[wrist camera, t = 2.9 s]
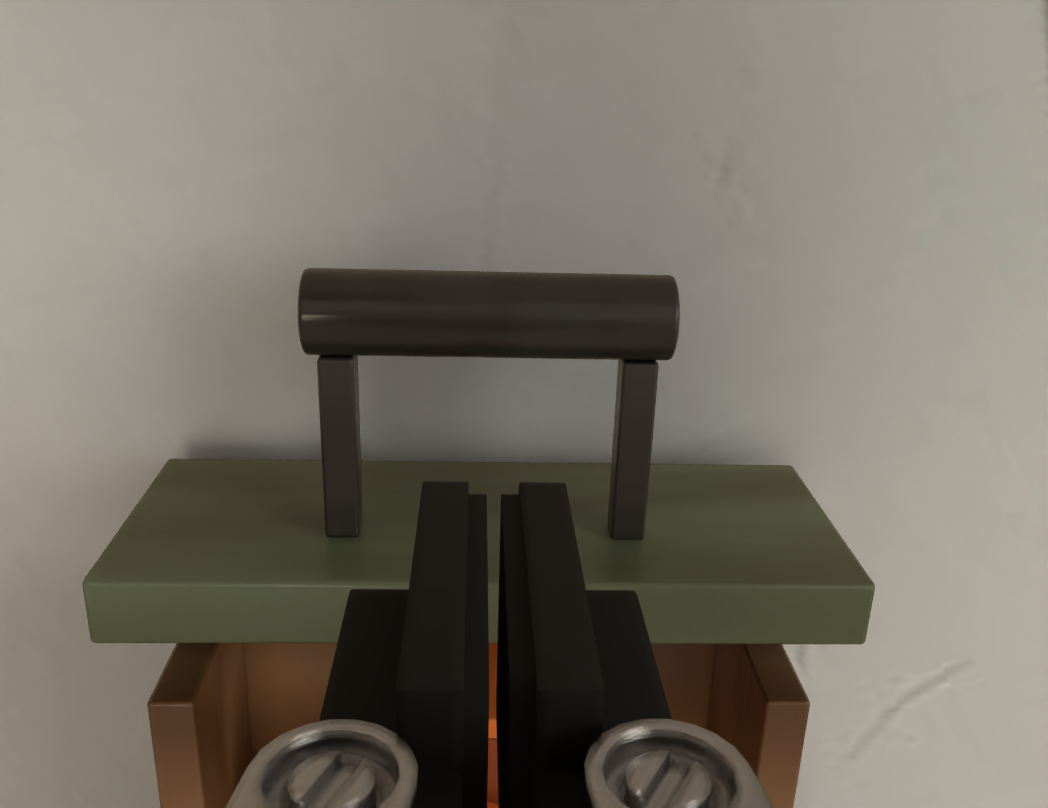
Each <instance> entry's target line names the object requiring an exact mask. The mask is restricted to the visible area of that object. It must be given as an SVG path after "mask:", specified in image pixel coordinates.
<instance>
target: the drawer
mask: <svg viewBox="0 0 1048 808" xmlns="http://www.w3.org/2000/svg"><path fill="white" fill-rule="evenodd" d="M679 320H680V304H679V293H678V287H677V284H676V281H675V279H674V277H672V276H670V275H633V274H584V273H534V272H484V271H435V270H385V269H335V268H307V269H305V270H304V271H303V274H302V277H301V280H300V286H299V295H298V327H299V336H300V342H301V346H302V348H303V351H304V353H306V354H308V355H320V356H319V358H318V361H317V367H318V388H319V409H320V431H321V452H322V460H236V459H170V460H168V461H167V463H166V464H165V466H164V467H163V468H162V470H161V471H160V473H159V474H158V475H157V477H156V478H155V480H154V481H153V483H152V484H151V485H150V487H149V488H148V490H147V491H146V492H145V494H144V495H143V497H142V498H141V499H140V501H139V502H138V504H137V505H136V507H135V508H134V509H133V511H132V512H131V514H130V515H129V516H128V518H127V519H126V521H125V522H124V523H123V525H122V526H121V528H120V529H119V531H118V532H117V533H116V535H115V536H114V538H113V539H112V540H111V542H110V543H109V545H108V546H107V548H106V549H105V550H104V552H103V553H102V555H101V556H100V557H99V559H98V560H97V562H96V563H95V564H94V566H93V567H92V569H91V570H90V572H89V573H88V574H87V576H86V577H85V579H84V580H83V583H82V584H83V591H84V598H85V605H86V611H87V618H88V625H89V631H90V638H91V641H92V642H95V643H177V644H176V646H175V648H174V650H173V652H172V654H171V656H170V658H169V660H168V662H167V664H166V666H165V668H164V670H163V672H162V674H161V676H160V679H159V681H158V683H157V685H156V687H155V689H154V691H153V693H152V695H151V697H150V699H149V701H148V704H147V705H148V713H149V720H150V728H151V736H152V744H153V751H154V759H155V767H156V775H157V782H158V790H159V798H160V806H161V808H226V806H227V804H228V802H229V800H230V798H231V796H232V795H233V793H234V791H235V789H236V787H237V785H238V783H239V782H240V780H241V778H242V776H243V774H244V772H245V770H246V769H247V767H248V765H249V764H250V763H251V761H252V760H253V759H254V758H255V756H256V755H257V754H258V752H259V751H260V750H261V749H262V748H263V747H264V746H266V745H267V744H269V743H270V742H271V741H273V740H274V739H275V738H277V737H278V736H280V735H281V734H283V733H286V732H288V731H290V730H293V729H295V728H298V727H300V726H302V725H305V724H310V723H315V722H319V719H320V715H321V711H322V707H323V702H324V698H325V694H326V689H327V685H328V681H329V677H330V672H331V668H332V664H333V660H334V655H335V651H336V647H337V642H338V638H339V634H340V630H341V625H342V621H343V617H344V613H345V608H346V604H347V600H348V596H349V593H350V590H352V589H409V584H410V576H411V568H412V560H413V553H414V545H415V537H416V529H417V521H418V514H419V506H420V498H421V490H422V483H423V481H447V482H469V494H487V553H488V626H489V644H497V640H498V599H499V557H500V516H501V494H518V492H519V483H520V482H549V483H565V484H566V488H567V493H568V498H569V504H570V509H571V514H572V519H573V525H574V530H575V535H576V541H577V546H578V551H579V557H580V562H581V567H582V572H583V578H584V583H585V588H586V590H633V591H635V592H636V594H637V597H638V599H639V603H640V606H641V610H642V614H643V617H644V621H645V624H646V628H647V631H648V635H649V639H650V642H651V646H652V649H653V653H654V657H655V660H656V664H657V667H658V671H659V675H660V678H661V682H662V685H663V689H664V692H665V696H666V700H667V703H668V707H669V710H670V714H671V718H672V720H676V721H681V722H686V723H691V724H694V725H697V726H699V727H701V728H704V729H706V730H709V731H711V732H713V733H716V734H717V735H719V736H720V737H721V738H723V739H724V740H726V741H727V742H728V743H730V744H731V745H733V746H734V747H735V748H736V749H737V750H738V751H739V753H740V754H741V755H742V756H743V757H744V759H745V760H746V761H747V762H748V763H749V765H750V767H751V768H752V770H753V772H754V774H755V775H756V777H757V779H758V780H759V782H760V784H761V786H762V787H763V789H764V791H765V792H766V794H767V796H768V798H769V799H770V801H771V803H772V804H773V806H774V808H793V804H794V798H795V792H796V786H797V780H798V774H799V767H800V761H801V755H802V749H803V743H804V737H805V731H806V725H807V718H808V712H809V706H810V702H809V699H808V697H807V695H806V693H805V691H804V689H803V687H802V685H801V683H800V681H799V679H798V677H797V674H796V672H795V670H794V668H793V666H792V664H791V662H790V660H789V658H788V656H787V654H786V652H785V650H784V647H783V645H782V644H863V643H864V642H865V639H866V634H867V628H868V623H869V617H870V612H871V606H872V601H873V595H874V590H875V586H874V583H873V582H872V580H871V579H870V577H869V576H868V575H867V573H866V572H865V570H864V569H863V567H862V566H861V565H860V563H859V562H858V560H857V559H856V557H855V556H854V554H853V553H852V552H851V550H850V549H849V547H848V546H847V544H846V543H845V542H844V540H843V539H842V537H841V536H840V534H839V533H838V532H837V530H836V529H835V527H834V526H833V524H832V523H831V521H830V520H829V519H828V517H827V516H826V514H825V513H824V511H823V510H822V509H821V507H820V506H819V504H818V503H817V501H816V500H815V498H814V497H813V496H812V494H811V493H810V491H809V490H808V488H807V487H806V486H805V484H804V483H803V481H802V480H801V478H800V477H799V476H798V474H797V473H796V471H795V470H794V468H793V467H792V466H789V465H702V464H650V463H651V451H652V439H653V427H654V415H655V403H656V391H657V379H658V367H659V366H658V363H657V361H656V360H669V359H671V358H672V357H673V354H674V352H675V349H676V345H677V340H678V333H679ZM358 355H360V356H423V357H485V358H548V359H611V360H619V361H618V376H617V390H616V405H615V420H614V434H613V449H612V464H609V463H516V462H423V461H361V447H360V416H359V384H358Z"/></svg>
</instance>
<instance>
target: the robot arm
mask: <svg viewBox="0 0 1048 808" xmlns="http://www.w3.org/2000/svg"><path fill="white" fill-rule="evenodd" d="M496 727H497V770H498V808H774V806H773V804H772V803H771V801H770V799H769V798H768V796H767V794H766V792H765V791H764V789H763V787H762V786H761V784H760V782H759V780H758V779H757V777H756V775H755V774H754V772H753V770H752V768H751V767H750V765H749V763H748V762H747V761H746V760H745V759H744V757H743V756H742V755H741V754H740V753H739V751H738V750H737V749H736V748H735V747H734V746H733V745H731V744H730V743H728V742H727V741H726V740H724V739H723V738H721V737H720V736H719V735H717V734H716V733H713V732H711V731H709V730H706V729H704V728H701V727H699V726H697V725H694V724H691V723H686V722H681V721H676V720H672V718H671V714H670V710H669V707H668V703H667V700H666V696H665V692H664V689H663V685H662V682H661V678H660V675H659V671H658V667H657V664H656V660H655V657H654V653H653V649H652V646H651V642H650V639H649V635H648V631H647V628H646V624H645V621H644V617H643V614H642V610H641V606H640V603H639V599H638V597H637V594H636V592H635V591H633V590H586V588H585V583H584V578H583V572H582V567H581V562H580V557H579V551H578V546H577V541H576V535H575V530H574V525H573V519H572V514H571V509H570V504H569V498H568V493H567V488H566V484H565V483H549V482H520V483H519V492H518V494H501V516H500V557H499V599H498V640H497V682H496ZM488 738H489V626H488V553H487V494H469V482H447V481H423V483H422V490H421V498H420V506H419V514H418V521H417V529H416V537H415V545H414V553H413V560H412V568H411V576H410V584H409V589H352V590H350V593H349V596H348V600H347V604H346V608H345V613H344V617H343V621H342V625H341V630H340V634H339V638H338V642H337V647H336V651H335V655H334V660H333V664H332V668H331V672H330V677H329V681H328V685H327V689H326V694H325V698H324V702H323V707H322V711H321V715H320V719H319V722H315V723H310V724H305V725H302V726H300V727H298V728H295V729H293V730H290V731H288V732H286V733H283V734H281V735H280V736H278V737H277V738H275V739H274V740H273V741H271V742H270V743H269V744H267V745H266V746H264V747H263V748H262V749H261V750H260V751H259V752H258V754H257V755H256V756H255V758H254V759H253V760H252V761H251V763H250V764H249V765H248V767H247V769H246V770H245V772H244V774H243V776H242V778H241V780H240V782H239V783H238V785H237V787H236V789H235V791H234V793H233V795H232V796H231V798H230V800H229V802H228V804H227V806H226V808H487V785H488Z"/></svg>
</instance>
